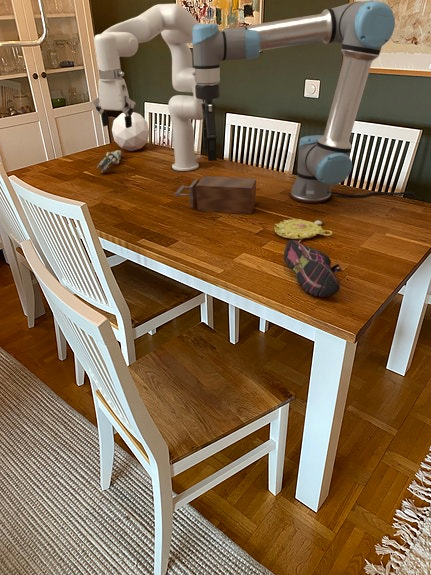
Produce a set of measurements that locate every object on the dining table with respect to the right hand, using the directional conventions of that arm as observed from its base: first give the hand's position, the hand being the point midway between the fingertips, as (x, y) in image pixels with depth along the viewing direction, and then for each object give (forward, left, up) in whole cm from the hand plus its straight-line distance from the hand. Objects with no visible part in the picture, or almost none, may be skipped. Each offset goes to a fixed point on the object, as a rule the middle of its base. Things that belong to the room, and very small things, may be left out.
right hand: (210, 154), depth 144 cm
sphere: (+18, -103, -23) cm, 107 cm away
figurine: (+31, -78, -23) cm, 87 cm away
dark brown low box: (-8, -10, -23) cm, 27 cm away
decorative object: (-25, +19, -23) cm, 40 cm away
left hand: (+27, -31, +5) cm, 42 cm away
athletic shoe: (-17, +48, -23) cm, 56 cm away
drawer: (-2, -13, -22) cm, 26 cm away
